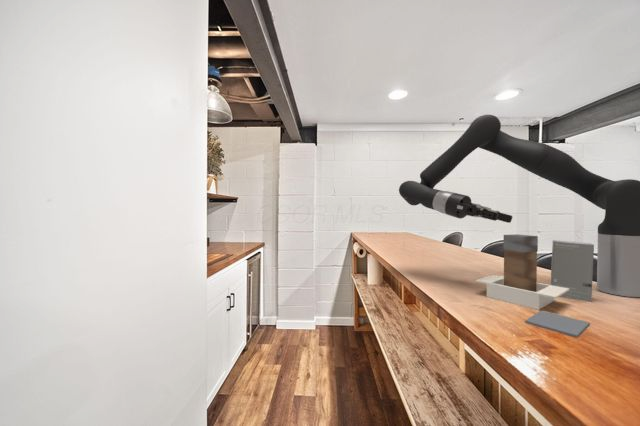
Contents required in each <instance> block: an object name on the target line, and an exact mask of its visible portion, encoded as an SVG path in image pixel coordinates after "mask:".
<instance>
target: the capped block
mask: <svg viewBox="0 0 640 426" xmlns="http://www.w3.org/2000/svg"><path fill="white" fill-rule="evenodd" d="M538 238H539V236H538V235H528V234H518V233H517V234H503V277H504V286H509V287H513V288H518V289H523V290H528V291H533V292H537V283H538V282H537V280H538V279H537V278H538V277H537V276H538V275H537V273H538V270H537V269H538V268H537V267H538V266H537V265H538V251H539V250H538V249H539V248H538V246H539V245H538V244H539V242H538V241H539V239H538Z"/></svg>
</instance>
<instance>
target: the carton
mask: <svg viewBox="0 0 640 426" xmlns="http://www.w3.org/2000/svg"><path fill="white" fill-rule="evenodd" d="M474 282H475V283H481V284H485V285H486V298H489V299H493V300H497V301H501V302H506V303H509V304H513V305H518V306H521V307H526V308H529V309H533V310H537V311H538V310H540V311H541V309H543V308H544V307H546V306H548V305H550V304H551V303H553V302H554V301H555V299H557V298H560V297H559V296H561V295H562V294H564V293H566V292H567V291H569V290H570V289H569V288H563V287H558V286H552V285H550V284H546V283H542V282H541V283H540V282H537V292H533V291H528V290H523V289H518V288H513V287H509V286H504V275H503V276H501V275H497V274H492V275H488V276H485V277H482V278H478V279H475V280H474Z"/></svg>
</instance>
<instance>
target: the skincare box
mask: <svg viewBox="0 0 640 426" xmlns="http://www.w3.org/2000/svg"><path fill="white" fill-rule="evenodd" d="M551 246H552V247H551V263H550V264H551V269H550V284H549V285H552V286H558V287H563V288H569V289H570V290H569V291H567V292H566V293H564V294H562V295H561V296H559V297H558V298H563V299H568V300H569V299H570V300H575V301H576V300H577V301H583V302H590V303H592V296H593V295H592V293H593V291H592V290H593V274H594V273H593V272H594V254H595V244H593V243H591V242H581V241H571V240H560V239H559V240H558V239H553V240H552V245H551Z"/></svg>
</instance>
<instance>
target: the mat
mask: <svg viewBox="0 0 640 426" xmlns="http://www.w3.org/2000/svg"><path fill="white" fill-rule="evenodd" d="M524 323H525V324H528V325H531V326H536V327H538V328H542V329H546V330H549V331H552V332H556V333H558V334H563V335H566V336H569V337H573V338H576V339H577V338H578V337H579V336H580V335H581V334H582V333H583V332H585V330H586V329H587V328H588V327H589V326H590V322H589V321H586V320H582V319H577V318H575V317H574V318H573V317H568V316H565V315H561V314H557V313H553V312H549V311H546V310H545V311H544V310H541V309H540V311H538V312H537V313H535V314H533V315H532V316H529V317H528V318H527V319H524Z"/></svg>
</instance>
